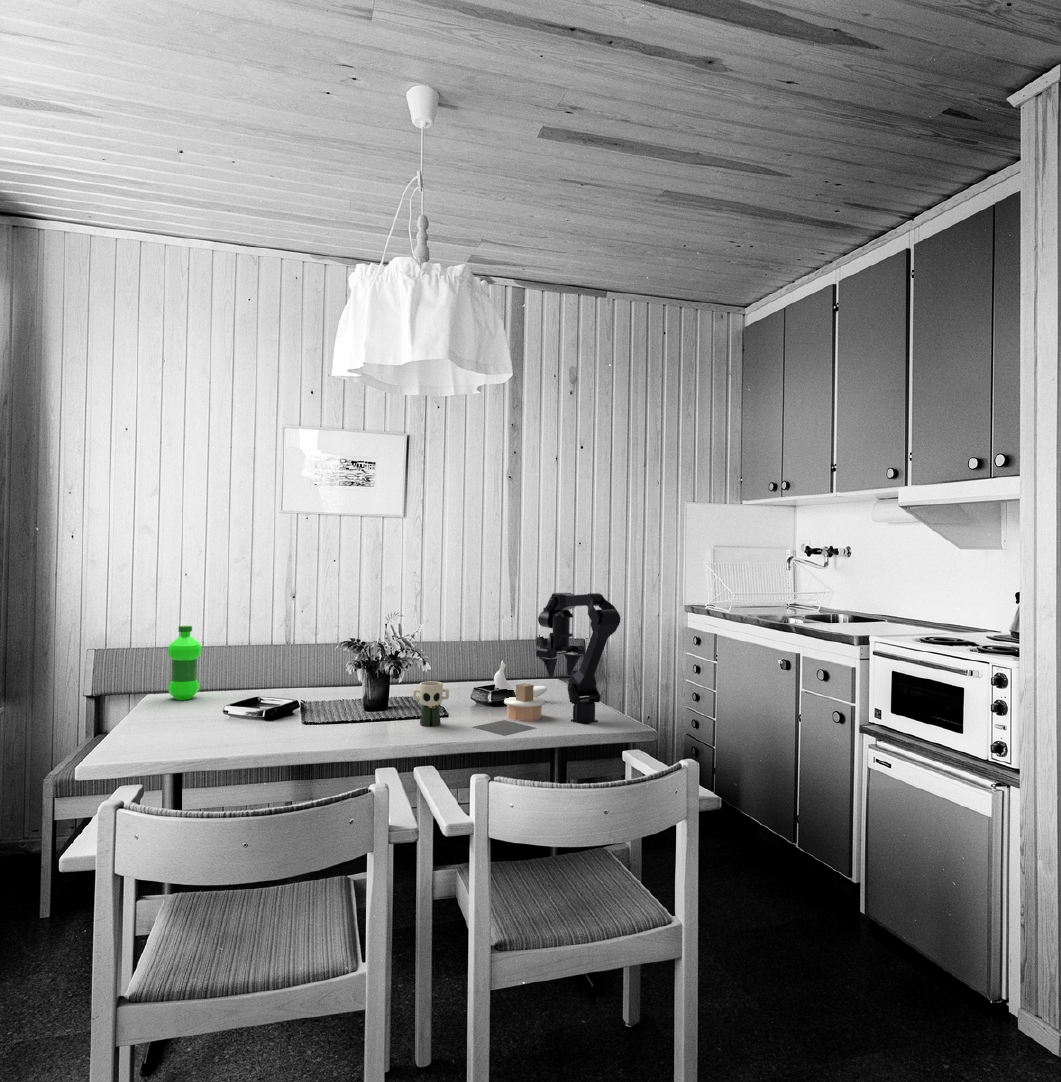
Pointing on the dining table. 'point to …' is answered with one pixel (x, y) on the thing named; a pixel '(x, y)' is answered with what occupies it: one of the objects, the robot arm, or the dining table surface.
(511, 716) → the faceted tan prism
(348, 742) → the dining table surface
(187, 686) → the plastic bottle
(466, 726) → the dining table surface
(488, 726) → the mat
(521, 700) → the lid
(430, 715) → the character mug
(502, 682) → the banana
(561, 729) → the dining table surface
